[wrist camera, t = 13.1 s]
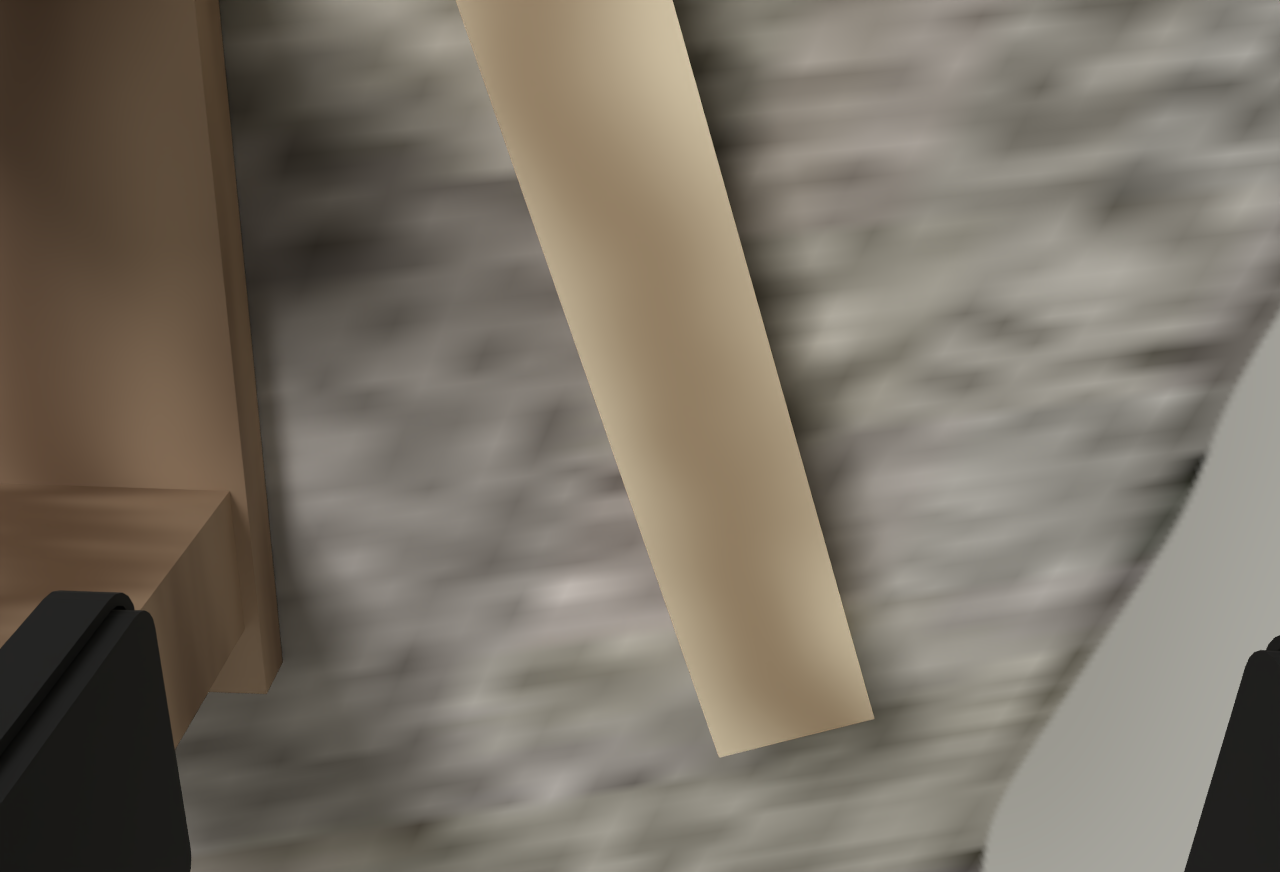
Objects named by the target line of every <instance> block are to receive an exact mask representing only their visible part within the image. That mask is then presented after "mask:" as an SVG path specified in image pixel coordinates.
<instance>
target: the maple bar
mask: <svg viewBox="0 0 1280 872" xmlns="http://www.w3.org/2000/svg"><path fill="white" fill-rule="evenodd" d="M456 3H457V5H458V8H459V11H460V14H461V17H462V20H463V23H464V26H465V28H466V31H467V34H468V37H469V40H470V43H471V46H472V49H473V51H474V54H475V57H476V60H477V63H478V66H479V69H480V72H481V74H482V77H483V80H484V83H485V86H486V89H487V92H488V95H489V98H490V100H491V103H492V106H493V109H494V112H495V115H496V118H497V121H498V123H499V126H500V129H501V132H502V135H503V138H504V141H505V144H506V146H507V149H508V152H509V155H510V158H511V161H512V164H513V167H514V169H515V172H516V175H517V178H518V181H519V184H520V187H521V190H522V192H523V195H524V198H525V201H526V204H527V207H528V210H529V213H530V215H531V218H532V221H533V224H534V227H535V230H536V233H537V236H538V238H539V241H540V244H541V247H542V250H543V253H544V256H545V259H546V261H547V264H548V267H549V270H550V273H551V276H552V279H553V282H554V284H555V287H556V290H557V293H558V296H559V299H560V302H561V305H562V307H563V310H564V313H565V316H566V319H567V322H568V325H569V328H570V330H571V333H572V336H573V339H574V342H575V345H576V348H577V351H578V353H579V356H580V359H581V362H582V365H583V368H584V371H585V374H586V376H587V379H588V382H589V385H590V388H591V391H592V394H593V397H594V399H595V402H596V405H597V408H598V411H599V414H600V417H601V420H602V422H603V425H604V428H605V431H606V434H607V437H608V440H609V443H610V445H611V448H612V451H613V454H614V457H615V460H616V463H617V466H618V468H619V471H620V474H621V477H622V480H623V483H624V486H625V489H626V491H627V494H628V497H629V500H630V503H631V506H632V509H633V512H634V514H635V517H636V520H637V523H638V526H639V529H640V532H641V535H642V537H643V540H644V543H645V546H646V549H647V552H648V555H649V558H650V560H651V563H652V566H653V569H654V572H655V575H656V578H657V581H658V583H659V586H660V589H661V592H662V595H663V598H664V601H665V604H666V606H667V609H668V612H669V615H670V618H671V621H672V624H673V627H674V629H675V632H676V635H677V638H678V641H679V644H680V647H681V650H682V652H683V655H684V658H685V661H686V664H687V667H688V670H689V673H690V675H691V678H692V681H693V684H694V687H695V690H696V693H697V696H698V698H699V701H700V704H701V707H702V710H703V713H704V716H705V719H706V721H707V724H708V727H709V730H710V733H711V736H712V739H713V742H714V744H715V747H716V750H717V753H718V756H719V757H723V756H728V755H732V754H736V753H740V752H744V751H748V750H752V749H756V748H760V747H764V746H768V745H772V744H776V743H780V742H784V741H788V740H792V739H796V738H800V737H804V736H808V735H812V734H816V733H820V732H824V731H828V730H832V729H836V728H840V727H844V726H848V725H852V724H856V723H860V722H864V721H868V720H872V719H874V715H873V712H872V708H871V705H870V701H869V697H868V694H867V690H866V687H865V683H864V680H863V676H862V672H861V669H860V665H859V662H858V658H857V655H856V651H855V648H854V644H853V640H852V637H851V633H850V630H849V626H848V623H847V619H846V616H845V612H844V608H843V605H842V601H841V598H840V594H839V591H838V587H837V584H836V580H835V576H834V573H833V569H832V566H831V562H830V559H829V555H828V552H827V548H826V544H825V541H824V537H823V534H822V530H821V527H820V523H819V520H818V516H817V512H816V509H815V505H814V502H813V498H812V495H811V491H810V488H809V484H808V480H807V477H806V473H805V470H804V466H803V463H802V459H801V456H800V452H799V448H798V445H797V441H796V438H795V434H794V431H793V427H792V424H791V420H790V416H789V413H788V409H787V406H786V402H785V399H784V395H783V392H782V388H781V384H780V381H779V377H778V374H777V370H776V367H775V363H774V360H773V356H772V352H771V349H770V345H769V342H768V338H767V335H766V331H765V328H764V324H763V320H762V317H761V313H760V310H759V306H758V303H757V299H756V296H755V292H754V288H753V285H752V281H751V278H750V274H749V271H748V267H747V263H746V260H745V256H744V253H743V249H742V246H741V242H740V239H739V235H738V231H737V228H736V224H735V221H734V217H733V214H732V210H731V207H730V203H729V199H728V196H727V192H726V189H725V185H724V182H723V178H722V175H721V171H720V167H719V164H718V160H717V157H716V153H715V150H714V146H713V143H712V139H711V135H710V132H709V128H708V125H707V121H706V118H705V114H704V111H703V107H702V103H701V100H700V96H699V93H698V89H697V86H696V82H695V79H694V75H693V71H692V68H691V64H690V61H689V57H688V54H687V50H686V47H685V43H684V39H683V36H682V32H681V29H680V25H679V22H678V18H677V15H676V11H675V7H674V4H673V0H456Z"/></svg>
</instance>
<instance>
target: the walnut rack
mask: <svg viewBox="0 0 1280 872" xmlns="http://www.w3.org/2000/svg"><path fill="white" fill-rule="evenodd" d="M59 590H65V591H93V592H121V593H124V594H126V595H128V596H129V598H130V599H131V601H132V603H133V605H134V608H135V610H145V611H147V612H149V613H150V614H151V616H152V618H153V620H154V624H155V628H156V635H157V641H158V647H159V653H160V660H161V666H162V672H163V679H164V685H165V691H166V698H167V704H168V710H169V716H170V723H171V729H172V735H173V742H174V748H175V749H176V747H177V746H178V744H179V742H180V740H181V739H182V737H183V735H184V733H185V732H186V730H187V728H188V727H189V725H190V723H191V721H192V720H193V718H194V716H195V714H196V713H197V711H198V709H199V708H200V706H201V704H202V702H203V701H204V699H205V697H206V695H207V694H208V692H225V693H256V694H267V692H268V690H269V688H270V686H271V684H272V682H273V680H274V678H275V676H276V674H277V672H278V670H279V668H280V666H281V664H282V662H283V661H282V650H281V640H280V630H279V619H278V609H277V598H276V588H275V578H274V567H273V557H272V547H271V536H270V526H269V516H268V505H267V495H266V485H265V474H264V464H263V454H262V443H261V433H260V423H259V412H258V402H257V392H256V381H255V371H254V361H253V350H252V340H251V330H250V319H249V309H248V298H247V288H246V278H245V267H244V257H243V247H242V236H241V226H240V216H239V205H238V195H237V185H236V174H235V164H234V154H233V143H232V133H231V123H230V112H229V102H228V92H227V81H226V71H225V61H224V50H223V40H222V29H221V19H220V9H219V0H0V648H1V647H2V646H3V645H4V644H5V642H6V641H7V640H8V639H9V638H10V637H11V636H12V634H13V633H14V632H15V631H16V630H17V629H18V628H19V626H20V625H21V624H22V623H23V622H24V621H25V619H26V618H27V617H28V616H29V615H30V614H31V613H32V611H33V610H34V609H35V608H36V607H37V606H38V605H39V603H40V602H41V601H42V600H43V599H44V598H45V597H46V596H47V595H48V594H50V593H51V592H53V591H59Z"/></svg>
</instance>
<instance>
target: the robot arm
mask: <svg viewBox="0 0 1280 872" xmlns="http://www.w3.org/2000/svg"><path fill="white" fill-rule="evenodd" d="M190 869H191V848H190V842H189V836H188V830H187V823H186V817H185V811H184V804H183V798H182V792H181V786H180V779H179V773H178V767H177V760H176V754H175V748H174V742H173V735H172V729H171V723H170V716H169V710H168V704H167V698H166V691H165V685H164V679H163V672H162V666H161V660H160V653H159V647H158V641H157V635H156V628H155V624H154V620H153V618H152V616H151V614H150V613H149V612H147V611H145V610H135V608H134V605H133V603H132V601H131V599H130V598H129V596H128V595H126V594H124V593H121V592H93V591H65V590H59V591H53V592H51V593H50V594H48V595H47V596H46V597H45V598H44V599H43V600H42V601H41V602H40V603H39V605H38V606H37V607H36V608H35V609H34V610H33V611H32V613H31V614H30V615H29V616H28V617H27V618H26V619H25V621H24V622H23V623H22V624H21V625H20V626H19V628H18V629H17V630H16V631H15V632H14V633H13V634H12V636H11V637H10V638H9V639H8V640H7V641H6V642H5V644H4V645H3V646H2V647H1V648H0V872H190ZM1184 872H1280V636H1277V637H1275V638H1274V639H1273V640H1272V641H1271V642H1270V643H1269V645H1268V647H1267V649H1266V650H1260V651H1257V652H1254V653H1253V654H1252V655H1251V656H1250V658H1249V659H1248V662H1247V664H1246V666H1245V670H1244V673H1243V676H1242V680H1241V683H1240V687H1239V690H1238V693H1237V697H1236V700H1235V703H1234V707H1233V710H1232V714H1231V717H1230V720H1229V723H1228V727H1227V730H1226V733H1225V737H1224V740H1223V744H1222V747H1221V750H1220V754H1219V757H1218V760H1217V764H1216V767H1215V771H1214V774H1213V777H1212V780H1211V784H1210V787H1209V790H1208V794H1207V797H1206V800H1205V804H1204V807H1203V811H1202V814H1201V817H1200V821H1199V824H1198V827H1197V831H1196V834H1195V837H1194V841H1193V844H1192V848H1191V852H1190V854H1189V858H1188V861H1187V864H1186V868H1185V871H1184Z"/></svg>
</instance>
